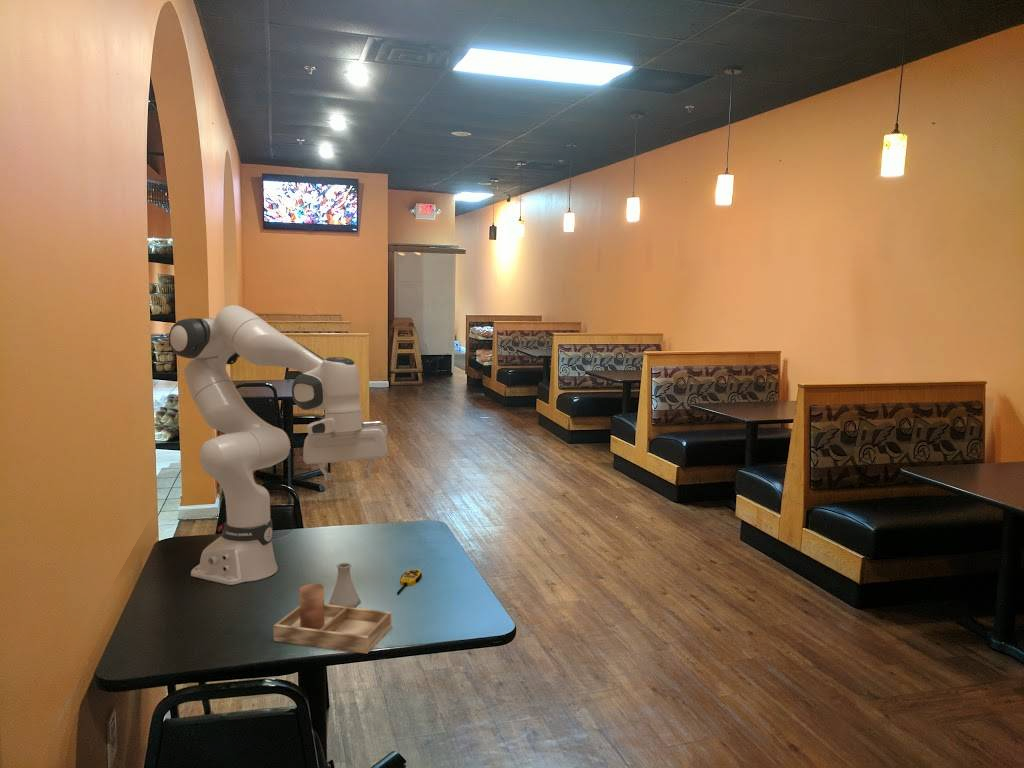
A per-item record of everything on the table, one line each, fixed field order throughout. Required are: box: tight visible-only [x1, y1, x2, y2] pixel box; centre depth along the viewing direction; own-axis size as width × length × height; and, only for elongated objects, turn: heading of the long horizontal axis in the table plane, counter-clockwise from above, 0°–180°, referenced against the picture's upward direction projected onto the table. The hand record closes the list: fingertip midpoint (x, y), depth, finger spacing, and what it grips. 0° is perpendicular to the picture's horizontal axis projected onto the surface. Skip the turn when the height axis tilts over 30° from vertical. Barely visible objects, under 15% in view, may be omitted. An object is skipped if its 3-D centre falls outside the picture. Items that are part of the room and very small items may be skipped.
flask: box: [328, 562, 362, 608], centre depth 176 cm, size 7×7×10 cm
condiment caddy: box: [272, 583, 393, 655], centre depth 160 cm, size 22×13×10 cm, turn 76°
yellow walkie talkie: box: [396, 568, 423, 595], centre depth 189 cm, size 5×2×15 cm
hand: (347, 479), depth 177 cm, fingers open, 8 cm apart
